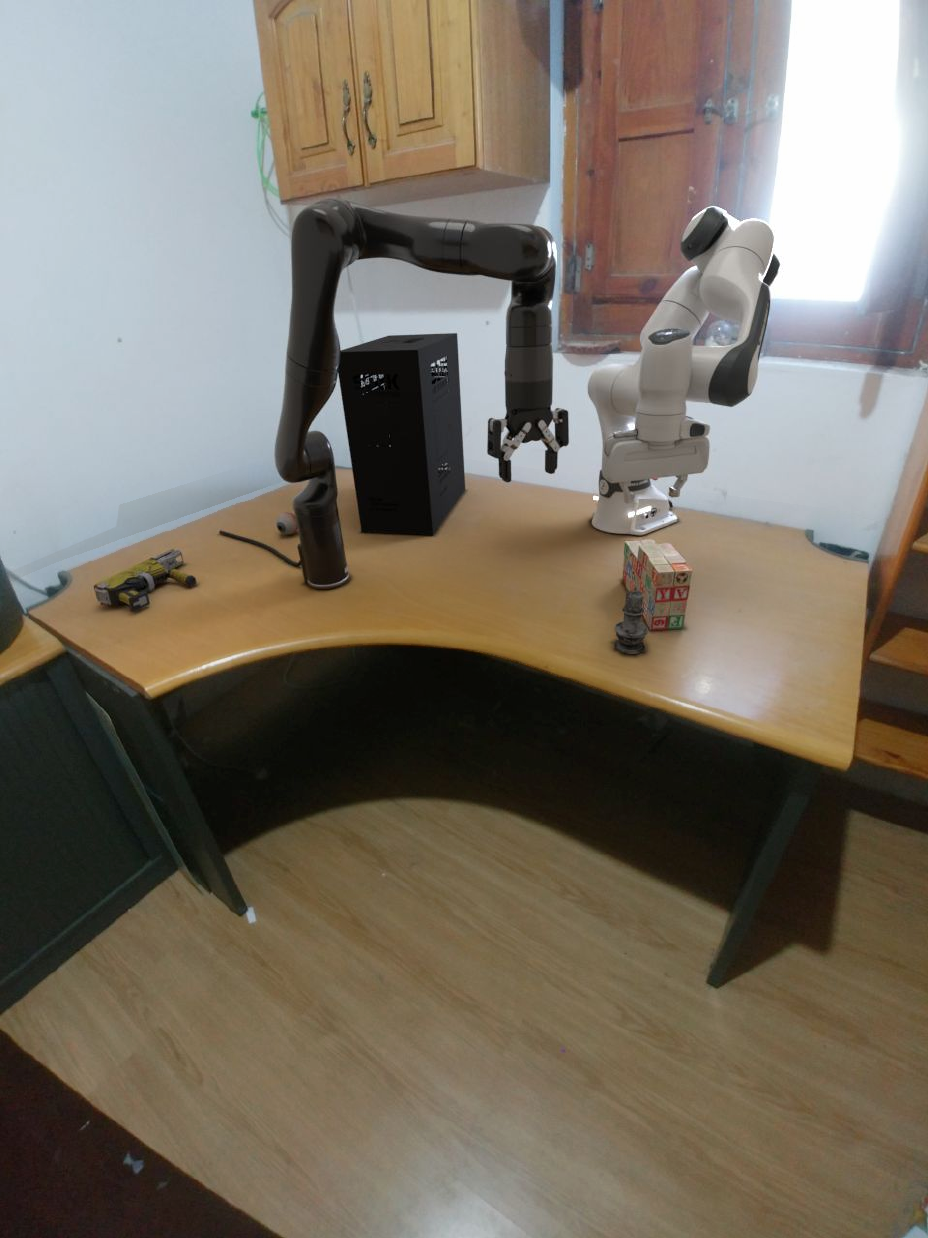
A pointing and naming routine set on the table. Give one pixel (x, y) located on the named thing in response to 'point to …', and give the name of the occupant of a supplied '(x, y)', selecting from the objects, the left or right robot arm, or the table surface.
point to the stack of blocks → (658, 582)
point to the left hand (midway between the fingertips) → (528, 476)
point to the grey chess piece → (631, 625)
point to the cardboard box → (404, 431)
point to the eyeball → (286, 523)
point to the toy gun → (141, 581)
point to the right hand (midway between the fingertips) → (651, 499)
